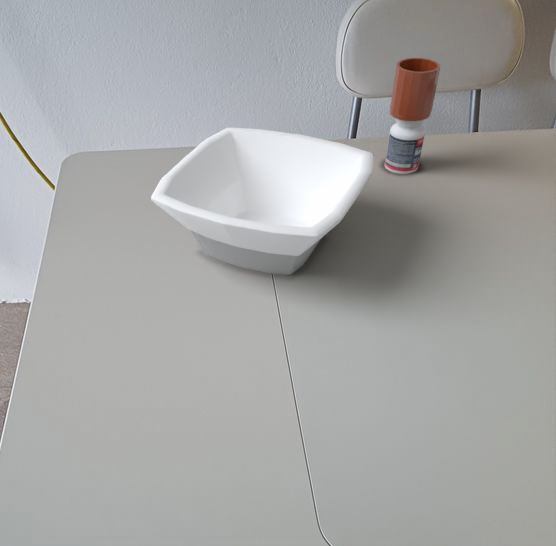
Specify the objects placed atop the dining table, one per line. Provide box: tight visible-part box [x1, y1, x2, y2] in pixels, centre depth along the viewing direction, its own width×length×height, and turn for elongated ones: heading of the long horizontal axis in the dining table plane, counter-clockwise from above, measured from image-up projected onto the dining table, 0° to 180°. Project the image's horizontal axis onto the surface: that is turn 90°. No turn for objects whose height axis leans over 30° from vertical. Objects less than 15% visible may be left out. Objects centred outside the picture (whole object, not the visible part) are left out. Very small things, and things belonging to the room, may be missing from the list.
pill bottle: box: [384, 118, 426, 175], centre depth 100 cm, size 5×5×9 cm
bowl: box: [150, 126, 375, 276], centre depth 86 cm, size 24×25×10 cm
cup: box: [389, 57, 441, 121], centre depth 95 cm, size 6×6×7 cm
